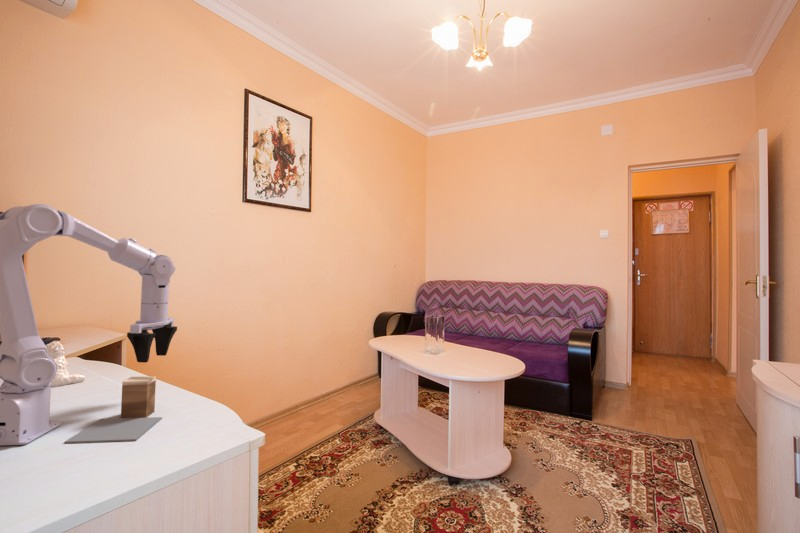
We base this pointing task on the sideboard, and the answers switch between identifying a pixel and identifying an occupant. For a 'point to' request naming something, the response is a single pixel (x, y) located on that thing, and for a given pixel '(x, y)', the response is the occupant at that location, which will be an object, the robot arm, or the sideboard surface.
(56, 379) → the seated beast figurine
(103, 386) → the sideboard surface
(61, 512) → the sideboard surface
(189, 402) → the sideboard surface
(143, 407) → the walnut block
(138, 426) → the slate rubber mat
